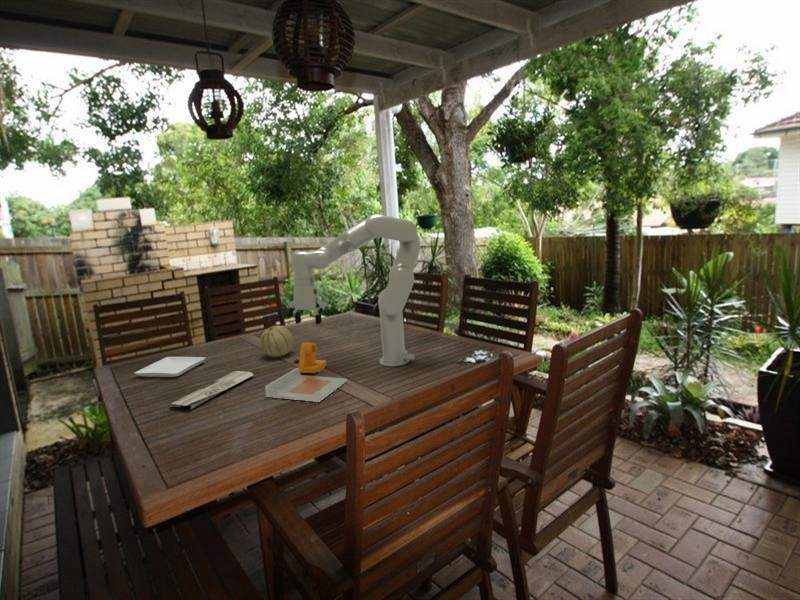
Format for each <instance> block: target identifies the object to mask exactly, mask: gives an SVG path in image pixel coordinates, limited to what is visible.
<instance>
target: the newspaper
mask: <svg viewBox="0 0 800 600" xmlns="http://www.w3.org/2000/svg"><path fill="white" fill-rule="evenodd" d="M254 375H255V374H254V373H253V372H251V371H242V370H241V371H240V370H236V371H232V372H230V373H228V374H226V375H224V376H222V377H221V378H218V379H217V380H214V381H212V382H210V383H208V384H206V385H204V386H203V387H200V388H198V389H197V390H195V391H192V392H191V393H189V394H187V395H185V396H182V397H181V398H179V399H178V400H175V401H173V402H172V403H170V404H169V405H168V408H169V409H171V407H174V406H176V405H182V406H183V407H186V406H188V407H190V408H189V409H190V410H193V409H195V408H196V407H198V406H200V405H203V404H204V403H205V402H207V401H209V400H211V399H212V398H214V397H216V396H218V395H219V394H222V393H223V392H225V391H227V390H229V389H231V388H233V387H234V386H237V385H238V384H240V383H241V382H244V381H245V380H247V379H250V378H252V377H253V376H254ZM210 398H211V399H210Z"/></svg>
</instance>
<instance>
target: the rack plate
mask: <svg viewBox="0 0 800 600" xmlns="http://www.w3.org/2000/svg"><path fill="white" fill-rule="evenodd" d="M345 382H347V383H348V379H347V378H341V377H330V376H318V375H317V376H316V375H305V374H301V373H300V368H299V367H295V368H294V369H292V370H290V371H289V372H287V373H285V374H283V375H282V376H280V377H278V378H276V379H274V381H271V382H269V383H267V384H266V385H265V386H264V389H265V395H266V397H273V398H285V399H294V400H305V401H313V402H320V401H321V400H323V399H324V398H325V397H327V396H328V395H329V394H331V393H332V392H333V391H334V390H336V389H337V388H338V387H340V386H341V385H342V384H344V383H345ZM344 385H345V384H344ZM331 395H332V394H331ZM266 397H265V398H266Z"/></svg>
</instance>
